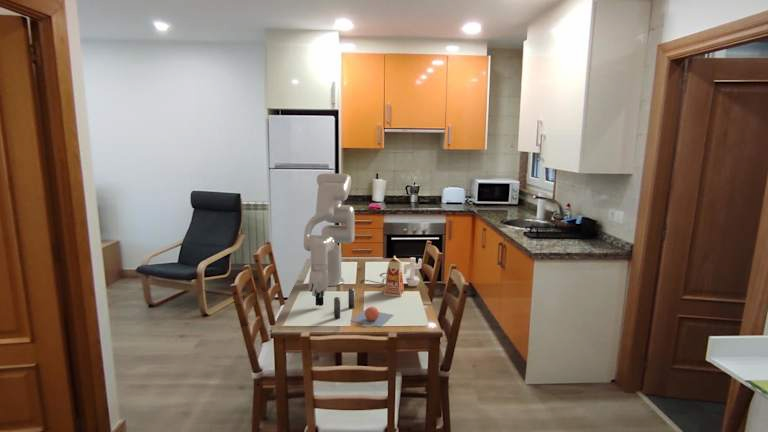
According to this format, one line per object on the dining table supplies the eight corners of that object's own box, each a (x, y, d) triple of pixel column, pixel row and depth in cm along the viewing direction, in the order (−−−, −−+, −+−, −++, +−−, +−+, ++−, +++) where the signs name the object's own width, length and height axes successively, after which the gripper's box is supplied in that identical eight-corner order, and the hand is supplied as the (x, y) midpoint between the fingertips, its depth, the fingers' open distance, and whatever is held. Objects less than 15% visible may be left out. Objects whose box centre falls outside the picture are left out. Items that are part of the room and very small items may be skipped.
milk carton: (401, 296, 222) (402, 257, 218) (383, 295, 223) (383, 256, 220) (404, 290, 230) (405, 253, 227) (386, 289, 232) (387, 251, 229)
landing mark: (350, 321, 191) (350, 320, 191) (365, 309, 204) (365, 309, 204) (380, 327, 186) (380, 326, 185) (393, 315, 198) (393, 314, 198)
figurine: (402, 282, 243) (403, 256, 240) (419, 282, 244) (420, 255, 241) (404, 287, 236) (405, 259, 233) (422, 286, 237) (423, 259, 234)
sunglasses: (380, 289, 234) (380, 279, 233) (359, 282, 244) (359, 273, 243) (400, 281, 247) (400, 272, 246) (379, 275, 256) (379, 267, 255)
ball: (376, 315, 187) (369, 325, 189) (383, 311, 192) (377, 321, 194) (366, 305, 189) (360, 316, 192) (374, 302, 194) (367, 312, 197)
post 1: (333, 318, 194) (333, 298, 192) (336, 316, 196) (336, 296, 194) (338, 319, 193) (338, 299, 191) (341, 317, 195) (341, 297, 193)
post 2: (347, 308, 205) (347, 289, 204) (350, 306, 208) (350, 287, 206) (352, 309, 204) (352, 290, 203) (355, 307, 207) (355, 288, 205)
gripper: (320, 261, 210) (321, 298, 213) (302, 269, 197) (303, 309, 200) (334, 263, 207) (334, 300, 210) (317, 271, 194) (317, 311, 197)
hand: (319, 304), depth 205 cm, fingers closed
